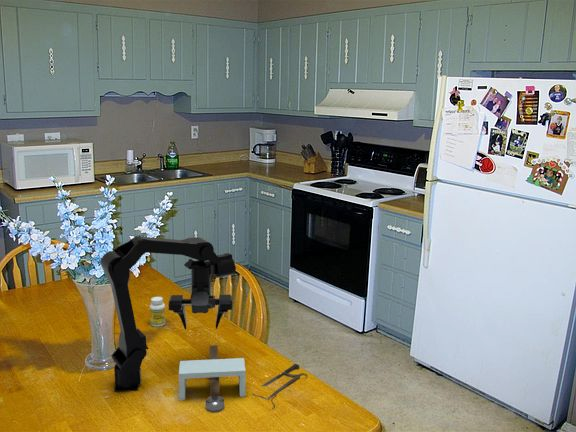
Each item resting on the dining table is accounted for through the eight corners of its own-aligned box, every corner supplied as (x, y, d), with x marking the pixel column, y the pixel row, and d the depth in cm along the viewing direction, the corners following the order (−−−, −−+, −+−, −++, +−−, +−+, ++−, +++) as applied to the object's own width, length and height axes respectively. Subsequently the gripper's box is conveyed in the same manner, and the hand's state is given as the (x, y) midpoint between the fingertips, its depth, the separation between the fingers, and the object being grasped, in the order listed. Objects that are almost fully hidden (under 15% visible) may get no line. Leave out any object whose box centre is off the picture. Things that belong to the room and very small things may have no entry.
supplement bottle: (163, 319, 198) (162, 294, 196) (167, 325, 194) (166, 300, 191) (148, 322, 196) (147, 297, 194) (152, 328, 191) (151, 302, 189)
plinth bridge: (179, 400, 149) (178, 373, 147) (180, 386, 156) (180, 360, 154) (245, 396, 152) (245, 370, 150) (243, 383, 158) (243, 358, 156)
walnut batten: (210, 396, 152) (210, 380, 150) (209, 360, 171) (209, 345, 170) (219, 396, 152) (219, 380, 151) (217, 359, 172) (217, 345, 170)
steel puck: (205, 413, 144) (205, 406, 143) (205, 402, 149) (205, 396, 148) (224, 412, 145) (224, 405, 144) (223, 401, 150) (223, 394, 149)
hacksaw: (295, 366, 169) (295, 361, 169) (322, 377, 163) (322, 373, 163) (240, 398, 151) (240, 394, 151) (268, 413, 145) (268, 408, 145)
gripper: (166, 290, 153) (167, 341, 157) (233, 289, 155) (232, 340, 159) (169, 276, 164) (170, 324, 168) (232, 276, 166) (231, 323, 170)
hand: (201, 328), depth 166 cm, fingers open, 9 cm apart
